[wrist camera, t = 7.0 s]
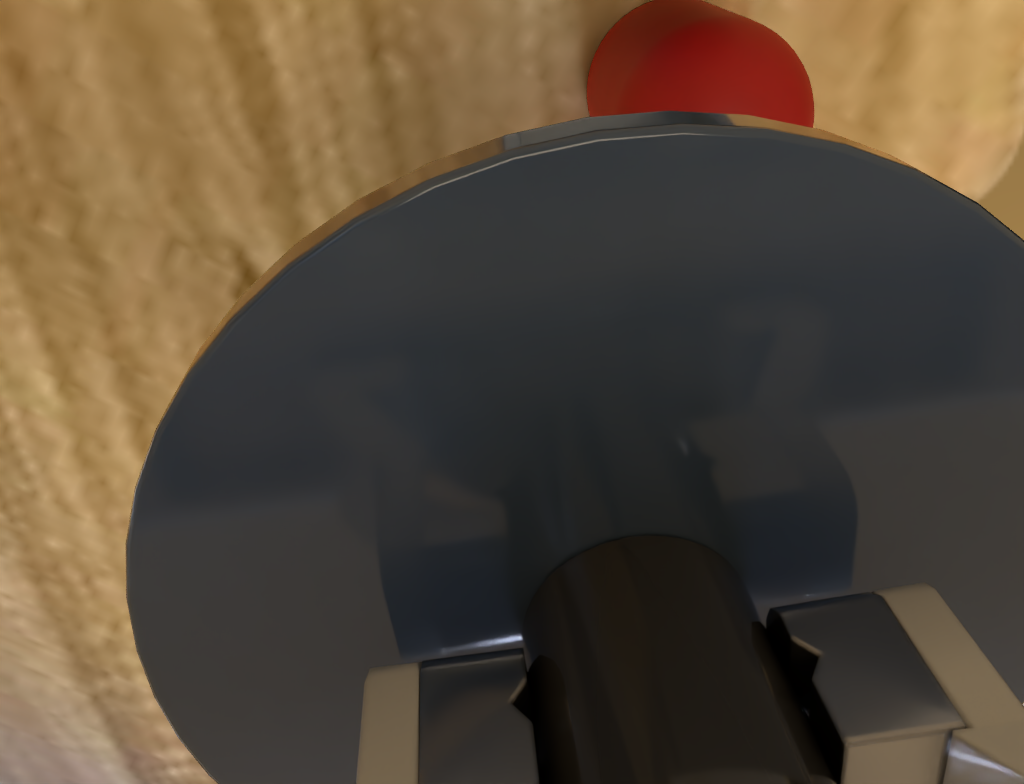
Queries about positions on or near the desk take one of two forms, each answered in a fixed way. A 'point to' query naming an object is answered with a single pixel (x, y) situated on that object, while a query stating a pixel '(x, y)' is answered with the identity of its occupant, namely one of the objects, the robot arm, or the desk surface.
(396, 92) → the desk surface
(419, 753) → the robot arm
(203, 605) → the pot lid
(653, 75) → the pepper
